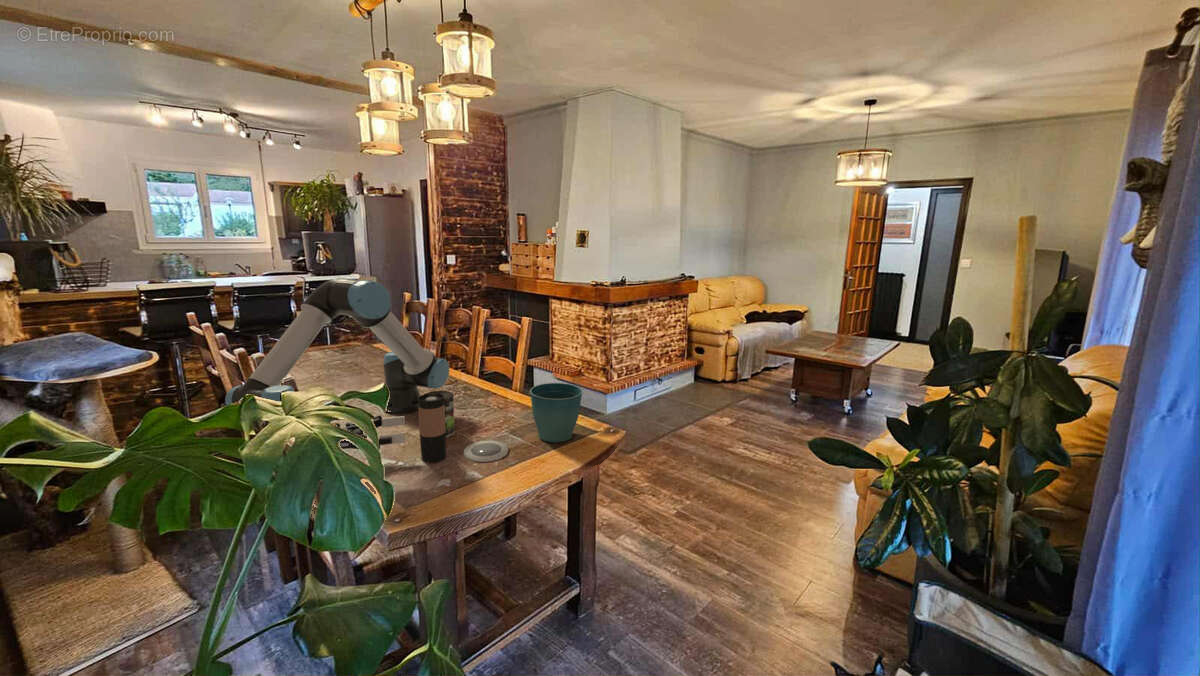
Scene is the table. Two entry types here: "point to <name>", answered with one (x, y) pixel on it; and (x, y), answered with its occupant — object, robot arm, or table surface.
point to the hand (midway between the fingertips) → (404, 428)
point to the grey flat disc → (485, 451)
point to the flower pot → (555, 410)
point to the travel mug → (432, 427)
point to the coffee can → (447, 410)
